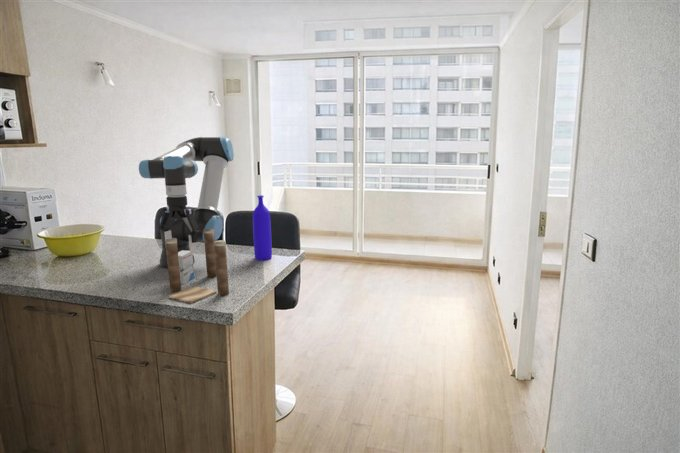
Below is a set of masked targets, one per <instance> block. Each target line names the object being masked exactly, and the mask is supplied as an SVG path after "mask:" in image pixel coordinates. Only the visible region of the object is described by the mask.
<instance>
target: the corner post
mask: <svg viewBox="0 0 680 453" xmlns="http://www.w3.org/2000/svg"><path fill="white" fill-rule="evenodd" d="M214 248H215V262H216V275H217V277H216V287H217V288H216V289H217V295H218V296H219V295H220V297H226V296H228V295H229V294H230V287H229V286H230V285H229V276H228V275H229V274H228V261H227V259H228V258H227V257H228V256H227V242H226V240H225V239H224V240H223V239H221V240H216V241H215V242H214ZM225 295H226V296H225Z"/></svg>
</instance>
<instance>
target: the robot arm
mask: <svg viewBox="0 0 680 453" xmlns="http://www.w3.org/2000/svg"><path fill="white" fill-rule="evenodd" d="M234 157H235V156H234V147H233V144H232V141H231V140H230V138H228V137H226V136H225V137H223V136H215V137H209V136H208V137H202V136H200V137H198V136H197V137H193V138H190V139H188V140H184V141H183V142H181V143H179V144H177V146H176V147H175V148H173V149H172V150H169V151H168V152H166V153H164V154H162V155H160V156H158V157H156V158H153V159H144V160H141V161H140V162H139V165H138V172H139V175H140V177H141V178H142V179H150V180H151V179H164V185H165V195H166V196H167V197H166V205H167V206H164V207H162V211H163V212H162V216H161V217H160V219H159V227H158V228H159V230H160V237H161V246H162V247H161V253H160V258H159V267H161V268H166V269H168V263H167V253H166V243H165V240H166V239H169V238H176V239H177V247H178V252H180V251H182V250H184V251H192V254H193V252H195V251H197V242H199V243H200V242H201V243H205V242H204V231H203V230H204V229H210V228H211V229H214V239H215V241H218V239H219V238H220V237H221V234H222V233H223V227H224V226H223V225H224V224H223V219H222V217H221V216H220V213H219V212H218V206H219V199H220V194H221V188H222V181H223V177H224V176H223V175H224V169H226V168H227V167H228V165H229V162H230V163H231V162H233V160H234ZM196 162H203V164H204V172H203V177H202V184H201V188H200V192H199V198H198V204H197V207H196V208H195V209H194V210H193V208H187V206H188V198H187V197H188V196H187V193H188V192H187V183H186V179H191V178H193V177H195V176H196V175H197V174H198V173H199V172H198V171H199V166H198V164H197V163H196ZM195 262H196V260H195V256H194V254H193V264H194V263H195Z"/></svg>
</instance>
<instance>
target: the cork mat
mask: <svg viewBox="0 0 680 453" xmlns="http://www.w3.org/2000/svg"><path fill="white" fill-rule="evenodd" d="M215 293H216V294H217V290H214V289H208V288H205V287H199V286H194V285H193V286H190V287H187V288H185V289H181V291H179V292H173V293H172V294H170V295H168V296H167V299H169V298H172V299H171V300H174V299H176V300H175V301H178V300H180V301H179V302H182V301H184V302H183V303H186V302H189V303H188V304H190V303H193V302H195V303H197V302H199V301H198V300H200V299H202V300H204V299H206V298H209V297H211V296H213V295H216V294H215ZM210 295H211V296H210ZM208 296H209V297H208ZM205 297H206V298H205ZM203 298H204V299H203ZM196 301H197V302H196ZM200 301H201V300H200ZM193 304H194V303H193Z"/></svg>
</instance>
